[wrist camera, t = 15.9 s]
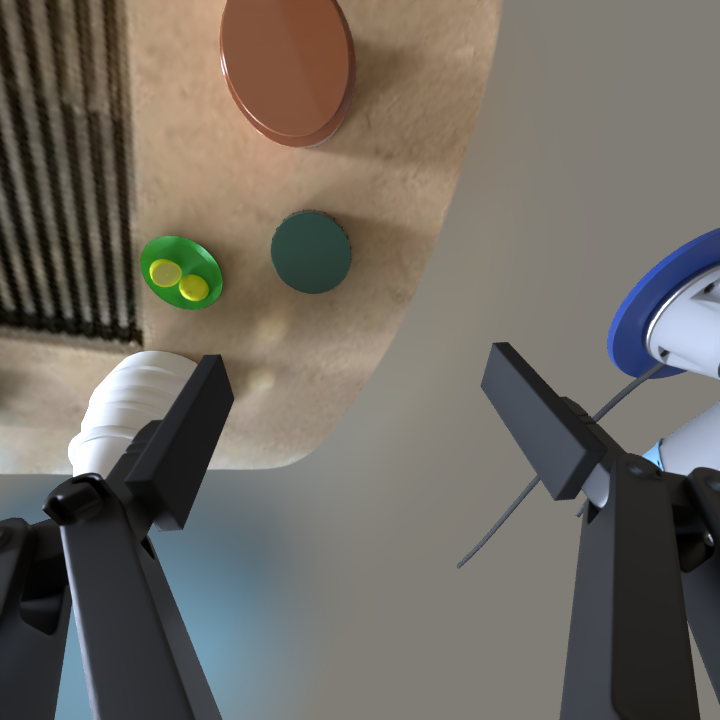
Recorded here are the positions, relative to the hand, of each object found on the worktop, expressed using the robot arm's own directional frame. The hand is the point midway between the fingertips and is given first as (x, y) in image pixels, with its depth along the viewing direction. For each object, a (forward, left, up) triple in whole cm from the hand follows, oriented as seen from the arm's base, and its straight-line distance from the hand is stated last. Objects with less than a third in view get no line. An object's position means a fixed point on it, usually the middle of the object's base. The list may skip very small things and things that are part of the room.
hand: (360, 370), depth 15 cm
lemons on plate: (-2, +17, -22) cm, 28 cm away
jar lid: (0, +3, -21) cm, 21 cm away
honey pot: (-18, +24, -22) cm, 37 cm away
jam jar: (+13, +3, -22) cm, 26 cm away
